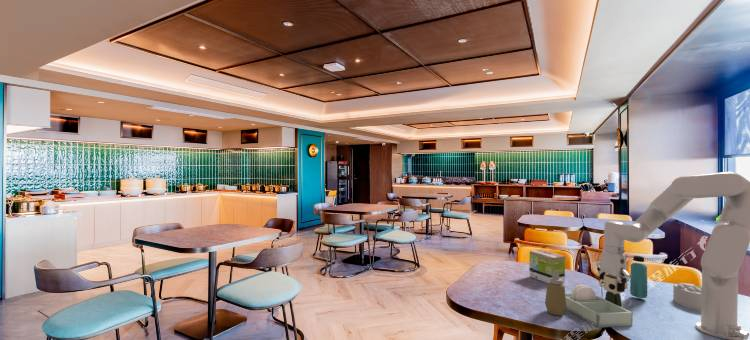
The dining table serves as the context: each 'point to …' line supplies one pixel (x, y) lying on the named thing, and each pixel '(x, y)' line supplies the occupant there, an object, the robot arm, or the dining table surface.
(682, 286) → the lumpy-topped squat cylinder
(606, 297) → the character mug
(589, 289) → the racked plates
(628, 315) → the dish rack
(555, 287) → the squeeze bottle
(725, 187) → the robot arm
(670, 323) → the dining table surface
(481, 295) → the dining table surface
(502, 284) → the dining table surface
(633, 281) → the beverage bottle
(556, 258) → the tea box
